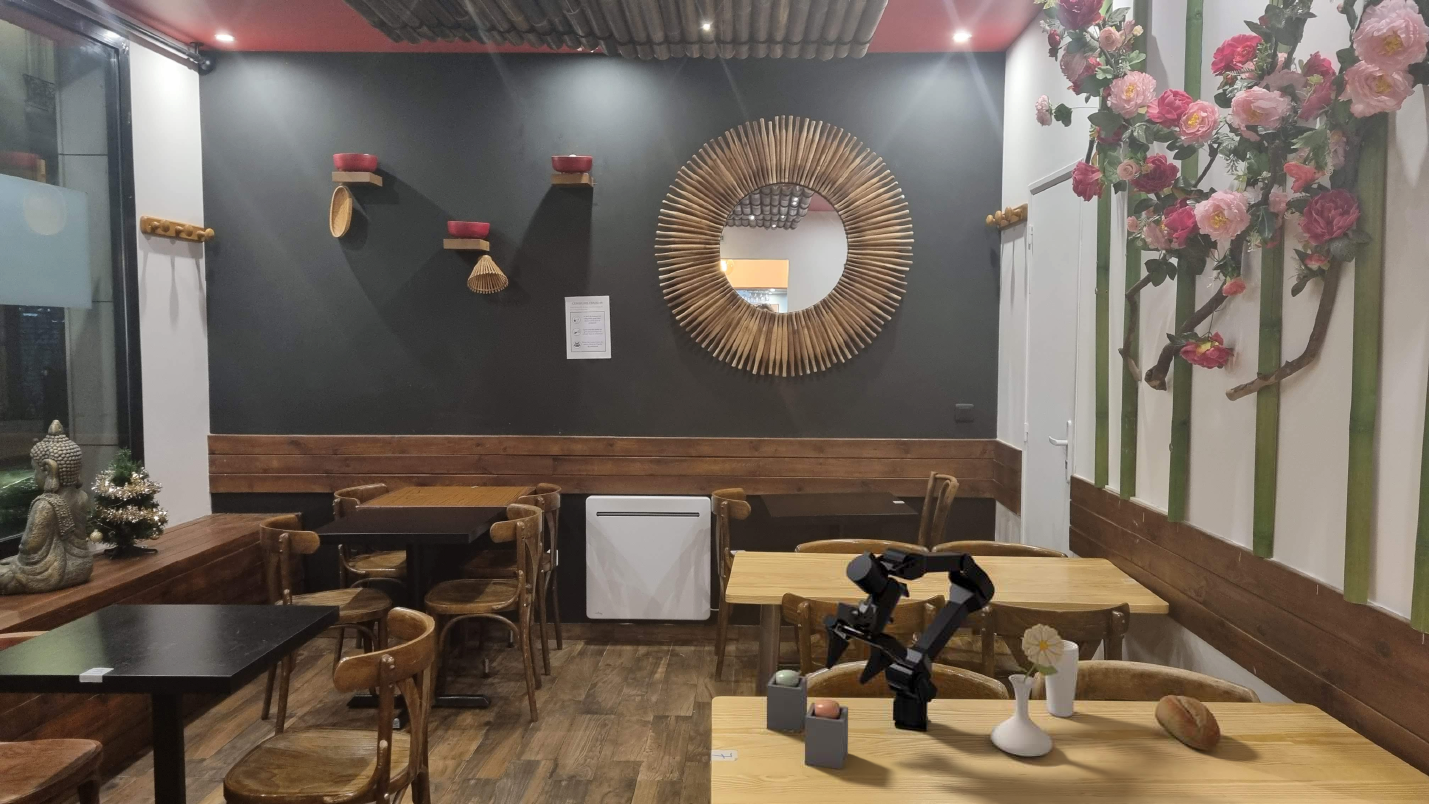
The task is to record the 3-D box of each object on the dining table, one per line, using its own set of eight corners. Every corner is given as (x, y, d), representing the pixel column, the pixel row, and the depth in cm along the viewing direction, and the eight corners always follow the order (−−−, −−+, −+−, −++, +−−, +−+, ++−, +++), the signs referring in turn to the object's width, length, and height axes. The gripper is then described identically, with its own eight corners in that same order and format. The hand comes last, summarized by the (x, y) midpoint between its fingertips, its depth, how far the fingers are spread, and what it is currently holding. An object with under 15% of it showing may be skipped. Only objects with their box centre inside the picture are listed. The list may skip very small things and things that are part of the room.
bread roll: (1185, 756, 160) (1186, 715, 160) (1141, 722, 175) (1142, 685, 175) (1233, 755, 161) (1235, 714, 160) (1185, 721, 176) (1186, 684, 175)
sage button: (800, 683, 175) (800, 671, 175) (795, 691, 171) (796, 679, 170) (778, 680, 176) (779, 668, 176) (773, 688, 172) (774, 676, 172)
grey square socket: (806, 718, 176) (807, 677, 176) (800, 733, 169) (800, 689, 169) (774, 714, 178) (774, 673, 178) (766, 728, 172) (766, 685, 171)
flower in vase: (989, 756, 160) (991, 627, 158) (991, 731, 170) (993, 610, 169) (1063, 768, 155) (1066, 636, 154) (1060, 742, 166) (1063, 618, 165)
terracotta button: (840, 713, 160) (841, 700, 160) (837, 723, 156) (837, 710, 155) (817, 710, 161) (817, 697, 161) (812, 720, 157) (812, 707, 157)
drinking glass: (1080, 721, 176) (1082, 650, 175) (1046, 718, 177) (1047, 648, 176) (1073, 707, 182) (1074, 640, 181) (1040, 705, 183) (1041, 638, 183)
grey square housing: (847, 752, 161) (848, 706, 161) (842, 769, 154) (842, 722, 154) (811, 747, 163) (812, 702, 163) (804, 764, 157) (805, 717, 156)
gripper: (824, 575, 171) (787, 643, 166) (893, 596, 155) (855, 672, 150) (855, 601, 176) (820, 668, 171) (924, 624, 161) (888, 698, 156)
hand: (843, 676), depth 162 cm, fingers open, 9 cm apart
